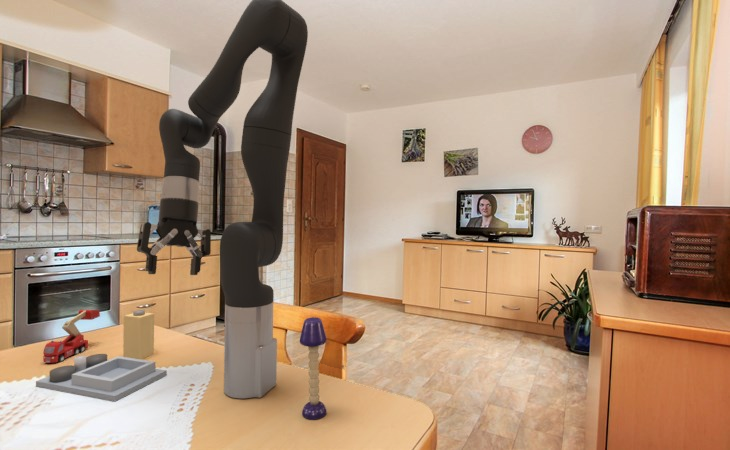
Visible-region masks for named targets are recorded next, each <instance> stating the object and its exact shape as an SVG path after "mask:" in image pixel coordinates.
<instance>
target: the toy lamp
mask: <svg viewBox="0 0 730 450" xmlns="http://www.w3.org/2000/svg"><path fill="white" fill-rule="evenodd" d="M323 324H324V323H323V320H322V319H321V318H320V317H316V316H315V317H314V316H313V317H307V318H305V319H304V321H303V326H302V328H301V333H300V336H299V344H300V345H301V346H303V347H307V348H308V351H309V352H308V359H309V362H308V367H309V369H308V376H309V379H308V385H309V388H308V392H309V393H308V394H309V397H308V402H307V403H306V404H305V405H304V406H303V408H302V412H301V413H302V416H303V418H305V419H307V420H312V421H313V420H314V421H315V420H319V419H322V418H324V417H325V416H326V415H327V407H326V405H325V403H323V402H322V401H320V395H319V394H320V387H319V385H320V379H319V375H320V371H319V366H320V363H319V362H320V361H319V357H320V353H319V349H320V346H322V345H325V344H326V342H327V335H326V332H325V328H324V325H323Z"/></svg>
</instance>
